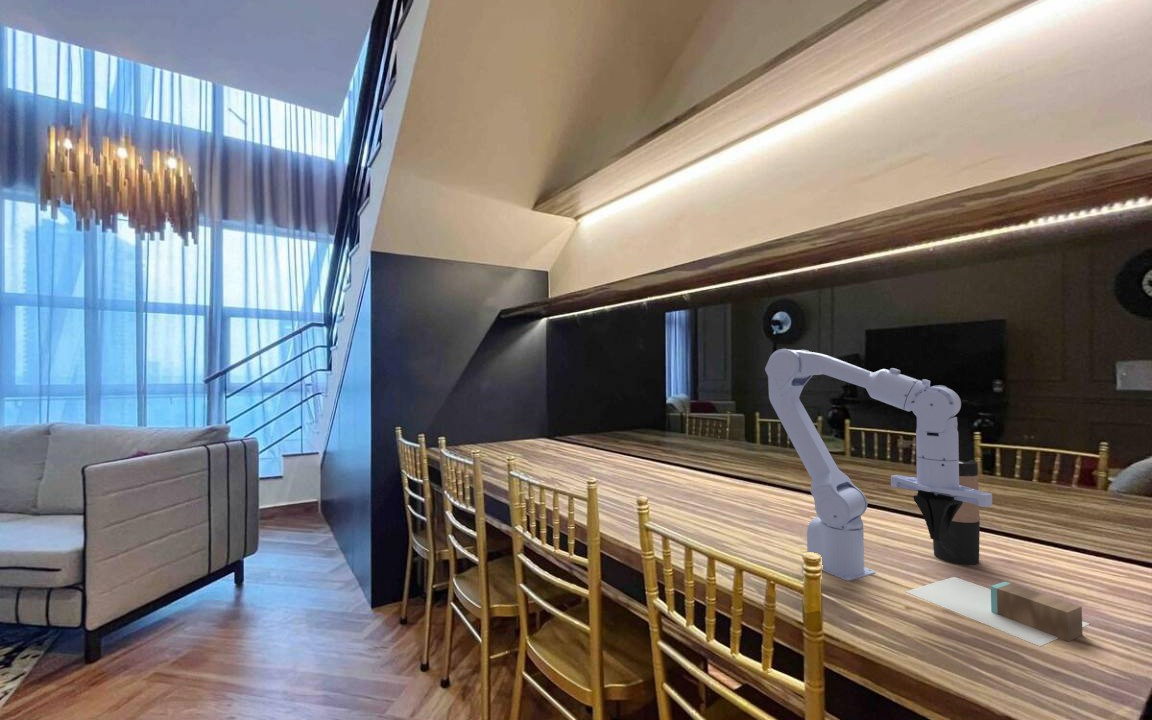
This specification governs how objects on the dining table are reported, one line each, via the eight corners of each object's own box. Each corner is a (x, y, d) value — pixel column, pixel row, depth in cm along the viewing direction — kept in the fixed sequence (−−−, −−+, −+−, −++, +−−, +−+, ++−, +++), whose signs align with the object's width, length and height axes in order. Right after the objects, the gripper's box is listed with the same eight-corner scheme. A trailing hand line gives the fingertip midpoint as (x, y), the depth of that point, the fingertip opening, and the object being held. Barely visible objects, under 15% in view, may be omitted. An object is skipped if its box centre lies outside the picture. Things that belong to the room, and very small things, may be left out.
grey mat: (905, 593, 82) (904, 591, 82) (954, 578, 88) (954, 576, 88) (1040, 649, 66) (1040, 646, 66) (1089, 626, 71) (1089, 623, 71)
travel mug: (939, 564, 94) (936, 462, 95) (927, 551, 101) (924, 455, 102) (987, 570, 92) (984, 464, 92) (971, 555, 99) (969, 458, 99)
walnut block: (990, 586, 75) (1067, 612, 67) (1004, 581, 77) (1081, 606, 69) (991, 612, 75) (1068, 641, 67) (1005, 606, 77) (1082, 634, 69)
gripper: (879, 452, 86) (880, 529, 86) (973, 468, 73) (974, 558, 73) (904, 449, 89) (905, 523, 89) (999, 464, 76) (1000, 550, 75)
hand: (938, 539), depth 81 cm, fingers closed
